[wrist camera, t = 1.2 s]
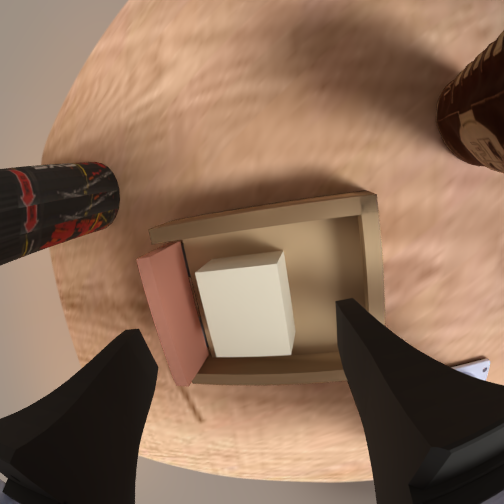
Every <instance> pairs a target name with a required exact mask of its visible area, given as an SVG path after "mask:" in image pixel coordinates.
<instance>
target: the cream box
mask: <svg viewBox="0 0 504 504" xmlns="http://www.w3.org/2000/svg"><path fill="white" fill-rule="evenodd" d="M195 275H196V279H197V284H198V288H199V292H200V296H201V300H202V304H203V308H204V312H205V316H206V320H207V324H208V328H209V331H210V335H211V339H212V343H213V346H214V350H215V353H216V357H258V356H282V355H291V353H292V348H293V343H294V338H295V333H296V331H295V324H294V317H293V310H292V303H291V296H290V289H289V283H288V276H287V270H286V263H285V257H284V251H283V250H282V251H274V252H266V253H258V254H250V255H241V256H233V257H225V258H217V259H211V260H210V261H209V262H208V263H206V264H205V265H204V266H203V267H201V268H200V269H199V270H198V271H196V272H195Z"/></svg>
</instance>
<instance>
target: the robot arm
mask: <svg viewBox="0 0 504 504" xmlns="http://www.w3.org/2000/svg"><path fill="white" fill-rule="evenodd" d="M335 303H336V323H337V346H338V350H339V354H340V358H341V362H342V367H343V370H344V373H345V376H346V378H347V381H348V384H349V387H350V389H351V392H352V395H353V398H354V400H355V403H356V406H357V409H358V411H359V414H360V417H361V420H362V424H363V427H364V431H365V436H366V441H367V445H368V450H369V456H370V461H371V467H372V472H373V479H374V485H375V492H376V500H377V504H504V386H503V385H499V384H495V383H491V382H487V381H486V378H487V374H488V370H489V366H490V361H489V359H482V360H479V361H475V362H471V363H467V364H463V365H459V366H455V367H449V366H446V365H444V364H442V363H440V362H438V361H436V360H434V359H432V358H431V357H429V356H427V355H426V354H424V353H422V352H420V351H419V350H417V349H416V348H414V347H412V346H411V345H409V344H408V343H407V342H405V341H404V340H402V339H401V338H400V337H398V336H397V335H396V334H394V333H393V332H392V331H391V330H389V329H388V328H387V327H386V326H384V325H383V324H382V323H381V322H379V321H378V320H377V319H376V318H375V317H374V316H373V315H371V314H370V313H369V312H368V311H367V310H366V309H365V308H364V307H363V306H361V305H360V304H359V303H358V302H357V301H356V300H355V299H353V298H349V299H344V300H339V301H335ZM484 368H485V369H484ZM157 373H158V366H157V364H156V362H155V360H154V358H153V356H152V354H151V352H150V350H149V348H148V346H147V344H146V342H145V340H144V338H143V336H142V334H141V332H140V330H139V329H131V330H125V331H124V332H122V333H121V334H120V335H118V336H117V337H116V338H115V339H114V340H113V341H112V342H110V343H109V344H108V345H107V346H106V347H105V348H104V349H103V350H102V351H101V352H100V353H98V354H97V355H96V356H95V357H94V358H93V359H92V360H91V361H90V362H89V363H88V364H86V365H85V366H84V367H83V368H82V369H81V370H79V371H78V372H77V373H76V374H75V375H74V376H72V377H71V378H70V379H69V380H68V381H66V382H65V383H64V384H62V385H61V386H60V387H58V388H57V389H55V390H54V391H53V392H51V393H50V394H48V395H47V396H45V397H43V398H42V399H40V400H38V401H37V402H35V403H33V404H32V405H30V406H28V407H26V408H24V409H22V410H20V411H18V412H16V413H14V414H11V415H9V416H6V417H4V418H1V419H0V472H1V473H2V474H3V475H4V476H6V477H7V478H8V480H7V482H6V483H5V482H3V481H2V480H0V504H135V479H136V467H137V459H138V452H139V445H140V440H141V436H142V432H143V429H144V425H145V422H146V419H147V415H148V412H149V409H150V405H151V402H152V398H153V395H154V391H155V386H156V380H157Z"/></svg>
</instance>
